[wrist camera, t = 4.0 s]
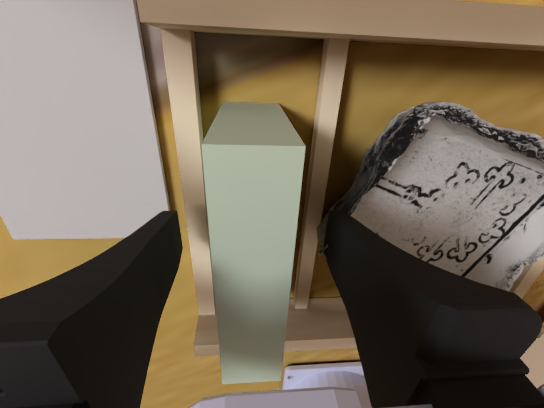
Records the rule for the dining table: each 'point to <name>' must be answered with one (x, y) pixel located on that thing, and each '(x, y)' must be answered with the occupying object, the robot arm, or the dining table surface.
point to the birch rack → (336, 33)
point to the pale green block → (252, 233)
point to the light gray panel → (76, 121)
